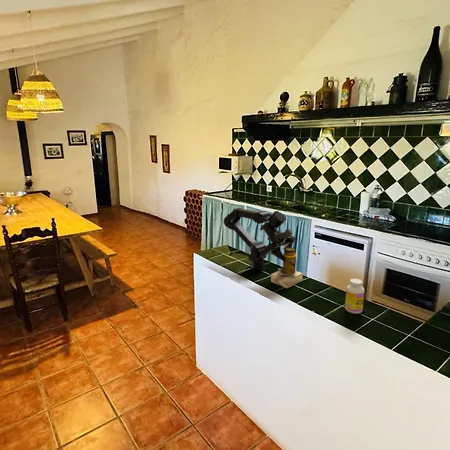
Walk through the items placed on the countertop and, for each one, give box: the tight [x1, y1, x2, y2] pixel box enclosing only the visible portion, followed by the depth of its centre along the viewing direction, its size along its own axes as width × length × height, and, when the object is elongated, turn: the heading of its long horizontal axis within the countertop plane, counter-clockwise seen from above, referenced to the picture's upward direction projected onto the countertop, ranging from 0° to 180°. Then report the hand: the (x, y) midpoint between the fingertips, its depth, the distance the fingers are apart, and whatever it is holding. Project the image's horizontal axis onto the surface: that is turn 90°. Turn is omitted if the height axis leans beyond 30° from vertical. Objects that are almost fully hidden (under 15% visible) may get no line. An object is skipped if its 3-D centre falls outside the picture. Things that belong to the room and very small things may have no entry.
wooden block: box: [270, 270, 304, 289], centre depth 157 cm, size 10×12×4 cm
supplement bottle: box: [344, 278, 365, 315], centre depth 128 cm, size 7×7×13 cm
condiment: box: [277, 247, 297, 275], centre depth 154 cm, size 7×8×12 cm
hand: (289, 259), depth 154 cm, fingers closed on condiment, 6 cm apart
